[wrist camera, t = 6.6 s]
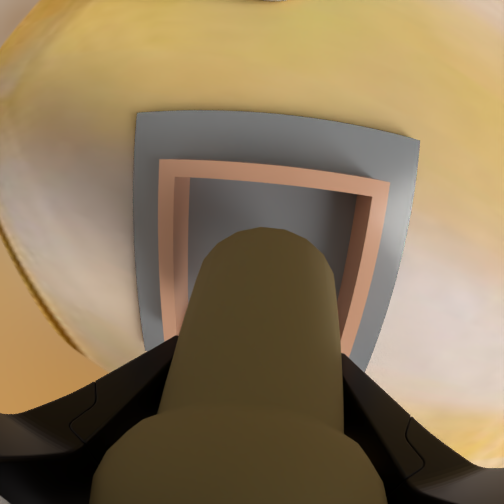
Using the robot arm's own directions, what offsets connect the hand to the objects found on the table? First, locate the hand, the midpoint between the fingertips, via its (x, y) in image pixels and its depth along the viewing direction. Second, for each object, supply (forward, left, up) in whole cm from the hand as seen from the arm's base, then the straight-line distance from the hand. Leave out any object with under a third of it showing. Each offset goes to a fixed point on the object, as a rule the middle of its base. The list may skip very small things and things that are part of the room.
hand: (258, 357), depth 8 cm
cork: (0, 0, -4) cm, 4 cm away
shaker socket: (0, 0, -9) cm, 9 cm away
